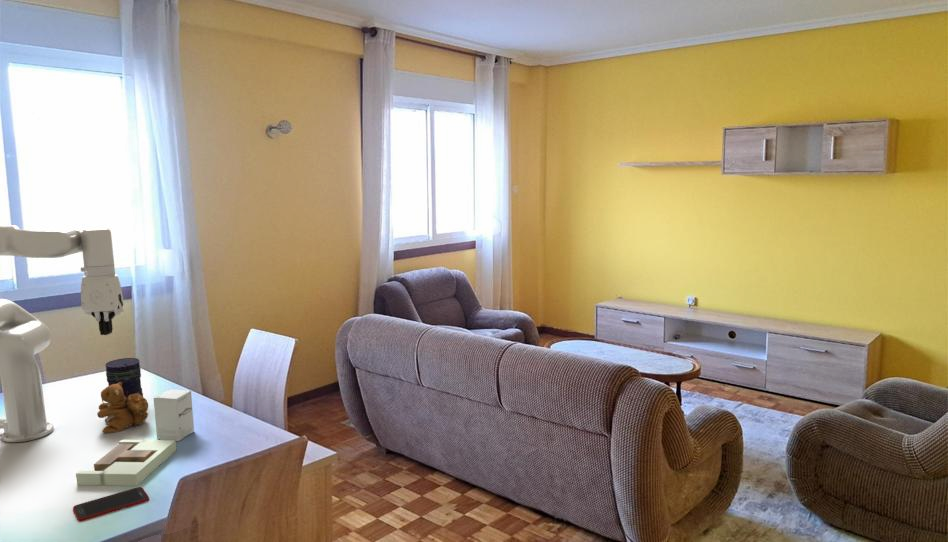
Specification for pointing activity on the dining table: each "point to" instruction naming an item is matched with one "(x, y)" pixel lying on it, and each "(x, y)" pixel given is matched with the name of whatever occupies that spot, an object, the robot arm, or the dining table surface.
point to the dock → (130, 465)
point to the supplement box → (173, 415)
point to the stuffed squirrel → (121, 409)
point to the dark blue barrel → (125, 375)
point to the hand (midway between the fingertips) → (106, 333)
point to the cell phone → (110, 503)
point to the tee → (122, 456)
